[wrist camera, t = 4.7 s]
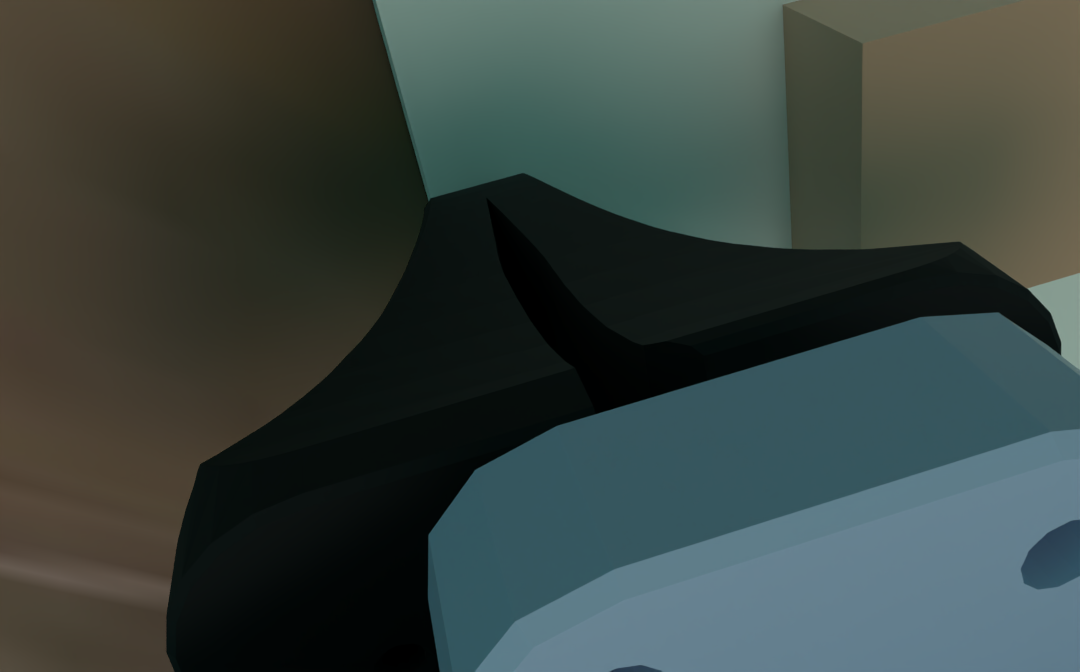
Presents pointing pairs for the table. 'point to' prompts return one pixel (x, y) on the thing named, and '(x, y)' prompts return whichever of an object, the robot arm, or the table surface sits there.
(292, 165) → the table surface
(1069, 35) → the tile
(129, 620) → the table surface
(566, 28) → the large sage green panel
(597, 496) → the robot arm
